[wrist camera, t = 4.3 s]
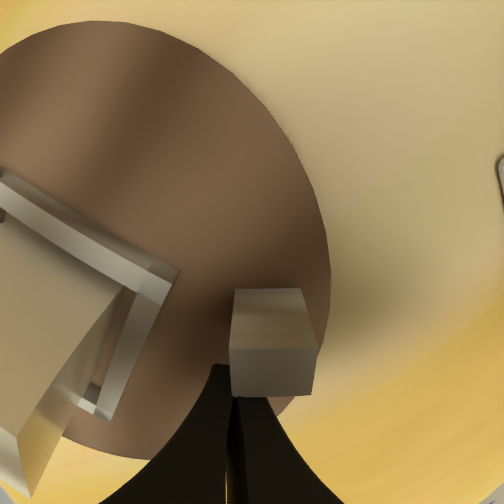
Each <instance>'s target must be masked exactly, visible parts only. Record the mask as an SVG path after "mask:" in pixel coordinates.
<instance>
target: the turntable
mask: <svg viewBox="0 0 504 504" xmlns="http://www.w3.org/2000/svg"><path fill="white" fill-rule="evenodd" d="M14 217H15V218H17V219H18V220H19V221H21V222H22V223H24V224H25V225H27V226H28V227H30V228H31V229H33V230H34V231H36V232H37V233H39V234H40V235H42V236H43V237H45V238H46V239H48V240H49V241H51V242H52V243H54V244H55V245H57V246H59V247H60V248H62V249H63V250H65V251H67V252H68V253H70V254H71V255H73V256H75V257H76V258H78V259H79V260H81V261H83V262H84V263H86V264H88V265H89V266H91V267H93V268H94V269H96V270H98V271H100V272H101V273H103V274H105V275H106V276H108V277H110V278H112V279H113V280H115V281H117V282H119V283H120V284H122V285H124V288H123V291H122V294H121V296H120V299H119V302H118V305H117V307H116V310H115V313H114V316H113V319H112V322H111V324H110V327H109V330H108V333H107V336H106V339H105V342H104V346H103V349H102V352H101V355H100V358H99V361H98V365H97V368H96V371H95V375H94V377H93V379H92V380H91V382H90V384H89V386H88V387H87V389H86V391H85V393H84V394H83V396H82V398H81V400H80V402H79V404H78V405H77V407H76V409H75V411H74V413H73V415H72V416H71V418H70V420H69V422H68V424H67V426H66V428H65V430H64V432H63V434H62V435H61V436H63V437H65V438H67V439H69V440H72V441H74V442H76V443H78V444H81V445H83V446H86V447H89V448H92V449H95V450H97V451H101V452H105V453H108V454H112V455H116V456H121V457H127V458H134V459H142V460H152V459H153V458H154V457H155V455H156V454H157V453H158V452H159V451H160V450H161V449H162V448H163V447H164V445H165V444H166V443H167V442H168V441H169V440H170V438H171V437H172V436H173V435H174V433H175V432H176V431H177V429H178V428H179V427H180V425H181V424H182V422H183V421H184V419H185V418H186V417H187V415H188V414H189V412H190V411H191V409H192V407H193V406H194V404H195V402H196V401H197V399H198V397H199V395H200V394H201V392H202V390H203V388H204V386H205V384H206V382H207V379H208V377H209V374H210V371H211V367H212V365H213V364H215V363H218V364H226V365H230V375H231V390H232V395H233V397H238V396H241V397H267V398H268V401H269V403H270V405H271V407H272V409H273V411H274V413H275V415H276V417H277V416H278V415H279V414H280V413H282V411H283V410H284V409H285V408H286V407H287V406H288V404H289V403H290V402H291V401H292V400H293V398H294V397H295V396H305V395H311V392H312V386H313V379H314V373H315V366H316V359H317V355H318V353H319V350H320V348H321V345H322V342H323V338H324V333H325V328H326V324H327V319H328V314H329V306H330V280H331V271H330V262H329V254H328V246H327V238H326V232H325V228H324V224H323V221H322V217H321V214H320V210H319V207H318V204H317V200H316V197H315V194H314V190H313V188H312V186H311V183H310V181H309V179H308V177H307V175H306V173H305V171H304V168H303V166H302V164H301V162H300V160H299V158H298V156H297V154H296V152H295V150H294V148H293V146H292V144H291V143H290V141H289V140H288V139H287V137H286V136H285V134H284V133H283V131H282V130H281V128H280V127H279V125H278V124H277V122H276V121H275V120H274V118H273V117H272V115H271V114H270V112H269V111H268V110H267V108H266V107H265V106H264V105H263V104H262V103H261V102H260V101H259V100H258V99H257V98H256V96H255V95H254V94H253V93H252V92H251V91H250V90H249V89H248V88H247V87H246V86H245V85H244V84H243V83H242V82H241V81H240V80H239V79H238V78H237V77H236V76H235V75H234V74H233V73H231V72H230V71H229V70H227V69H226V68H225V67H223V66H222V65H220V64H219V63H218V62H216V61H215V60H214V59H212V58H211V57H209V56H208V55H206V54H205V53H204V52H202V51H201V50H199V49H198V48H196V47H194V46H192V45H190V44H188V43H185V42H183V41H181V40H179V39H177V38H175V37H173V36H170V35H168V34H166V33H164V32H161V31H158V30H154V29H150V28H146V27H143V26H138V25H134V24H130V23H125V22H111V21H85V22H78V23H71V24H65V25H59V26H56V27H53V28H50V29H47V30H44V31H42V32H39V33H36V34H33V35H31V36H29V37H27V38H25V39H24V40H22V41H20V42H18V43H16V44H15V45H13V46H11V47H9V48H8V49H6V50H5V51H4V52H2V53H1V54H0V223H2V222H5V221H7V220H9V219H11V218H14Z"/></svg>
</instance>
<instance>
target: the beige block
mask: <svg viewBox="0 0 504 504" xmlns="http://www.w3.org/2000/svg"><path fill="white" fill-rule="evenodd" d="M123 288H124V285H122V284H120V283H119V282H117V281H115V280H113V279H112V278H110V277H108V276H106V275H105V274H103V273H101V272H100V271H98V270H96V269H94V268H93V267H91V266H89V265H88V264H86V263H84V262H83V261H81V260H79V259H78V258H76V257H75V256H73V255H71V254H70V253H68V252H67V251H65V250H63V249H62V248H60V247H59V246H57V245H55V244H54V243H52V242H51V241H49V240H48V239H46V238H45V237H43V236H42V235H40V234H39V233H37V232H36V231H34V230H33V229H31V228H30V227H28V226H27V225H25V224H24V223H22V222H21V221H19V220H18V219H17V218H15V217H14V218H11V219H9V220H7V221H5V222H2V223H0V479H1V480H3V481H4V482H5V483H7V484H8V485H10V486H11V487H13V488H14V489H16V490H17V491H19V492H20V493H22V494H24V495H25V496H27V497H29V498H30V499H31V498H32V496H33V494H34V491H35V489H36V487H37V485H38V483H39V480H40V478H41V476H42V474H43V472H44V470H45V468H46V466H47V463H48V461H49V459H50V457H51V455H52V453H53V451H54V449H55V447H56V445H57V443H58V441H59V439H60V437H61V435H62V434H63V432H64V430H65V428H66V426H67V424H68V422H69V420H70V418H71V416H72V415H73V413H74V411H75V409H76V407H77V405H78V404H79V402H80V400H81V398H82V396H83V394H84V393H85V391H86V389H87V387H88V386H89V384H90V382H91V380H92V379H93V377H94V375H95V371H96V368H97V365H98V361H99V358H100V355H101V352H102V349H103V346H104V342H105V339H106V336H107V333H108V330H109V327H110V324H111V322H112V319H113V316H114V313H115V310H116V307H117V305H118V302H119V299H120V296H121V294H122V291H123Z"/></svg>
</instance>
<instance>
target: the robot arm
mask: <svg viewBox="0 0 504 504" xmlns="http://www.w3.org/2000/svg"><path fill="white" fill-rule="evenodd" d="M498 170H499V176H500V180H501V184H502V189H503V194H504V158H503V159H502V160H501V161H500V163H499V168H498ZM226 482H227V504H344V503H343V502H342V501H341V500H340V499H339V498H338V497H337V496H336V495H335V494H334V493H333V492H332V491H331V490H330V489H329V488H328V487H327V486H326V485H325V484H324V483H323V482H322V481H321V480H320V479H319V478H318V477H317V475H316V474H315V473H314V472H313V471H312V470H311V468H310V467H309V466H308V465H307V463H306V462H305V461H304V459H303V458H302V457H301V455H300V454H299V453H298V451H297V450H296V448H295V447H294V445H293V444H292V442H291V441H290V439H289V438H288V436H287V434H286V433H285V431H284V429H283V428H282V426H281V424H280V422H279V421H278V419H277V417H276V415H275V413H274V411H273V409H272V407H271V405H270V403H269V401H268V398H267V397H241V396H238V397H233V395H232V390H231V375H230V365H226V364H218V363H215V364H213V365H212V367H211V371H210V374H209V377H208V379H207V382H206V384H205V386H204V388H203V390H202V392H201V394H200V395H199V397H198V399H197V401H196V402H195V404H194V406H193V407H192V409H191V411H190V412H189V414H188V415H187V417H186V418H185V419H184V421H183V422H182V424H181V425H180V427H179V428H178V429H177V431H176V432H175V433H174V435H173V436H172V437H171V438H170V440H169V441H168V442H167V443H166V444H165V445H164V447H163V448H162V449H161V450H160V451H159V452H158V453H157V454H156V455H155V457H154V458H153V459H152V460H151V461H150V462H149V463H148V464H147V465H146V466H145V467H144V468H143V469H142V470H140V471H139V472H138V473H137V474H136V475H135V476H134V477H133V478H132V479H130V480H129V481H128V482H127V483H125V484H124V485H123V486H122V487H121V488H119V489H118V490H117V491H116V492H114V493H113V494H112V495H110V496H109V497H108V498H106V499H105V500H103V501H102V502H100V503H99V504H226Z"/></svg>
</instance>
